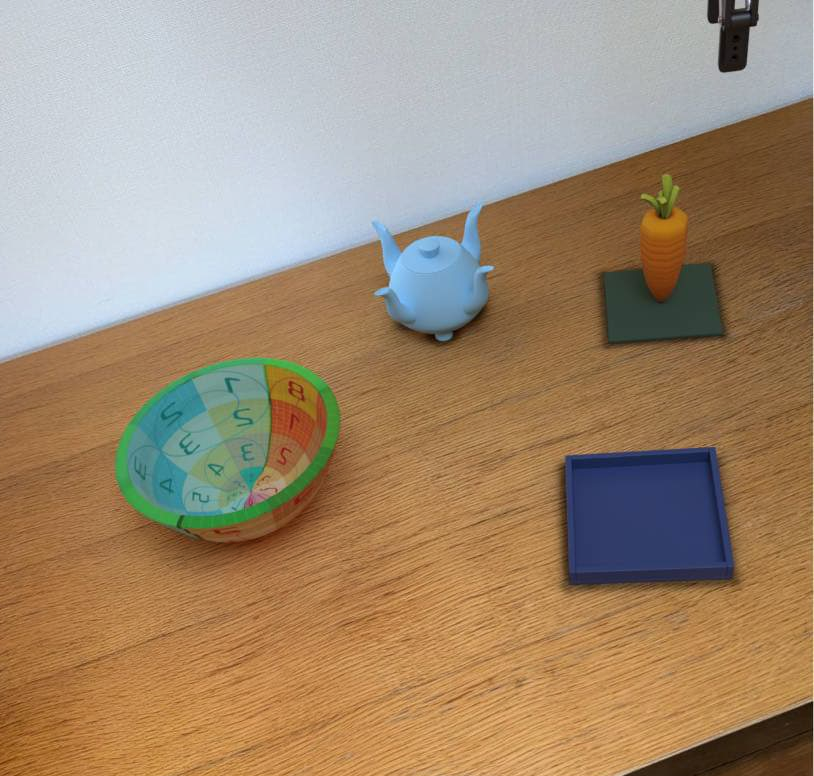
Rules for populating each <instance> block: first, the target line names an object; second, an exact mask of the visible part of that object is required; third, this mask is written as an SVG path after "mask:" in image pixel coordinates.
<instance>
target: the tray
mask: <svg viewBox="0 0 814 776" xmlns="http://www.w3.org/2000/svg"><path fill="white" fill-rule="evenodd" d="M564 459H565V461H564V462H565V486H566V487H565V490H566V514H567V515H566V519H567V520H566V521H567V550H568V576H569V577H568V579H569V585H570V586H573V585H575V586H576V585H577V586H578V585H600V584H601V585H602V584H603V585H604V584H606V585H607V584H629V583H661V582H685V581H689V582H690V581H714V580H716V581H717V580H733V578H734V571H735V563H734V555H733V550H732V544H731V537H730V530H729V525H728V524H729V523H728V518H727V517H728V516H727V512H726V506H725V505H726V504H725V499H724V493H723V492H724V491H723V486H722V481H721V474H720V473H721V472H720V466H719V461H718V455H717V449H716V446H704V447H701V446H700V447H687V448H686V447H685V448H684V447H683V448H670V449H668V448H667V449H651V450H650V449H649V450H635V451H633V450H631V451H618V452H616V451H615V452H602V453H601V452H600V453H598V452H597V453H583V454H567V455H565V456H564Z"/></svg>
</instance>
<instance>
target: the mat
mask: <svg viewBox="0 0 814 776" xmlns="http://www.w3.org/2000/svg"><path fill="white" fill-rule="evenodd" d="M603 284H604V299H605V311H606V323H607V324H606V325H607V335H608V344H609V345H616V344H627V343H628V344H629V343H640V342H641V343H642V342H653V341H654V342H655V341H669V340H678V339H679V340H680V339H693V338H707V337H718V336H719V337H720V336H723V335H724V330H723V324H722V319H721V313H720V308H719V303H718V297H717V292H716V287H715V281H714V276H713V270H712V264H711V262H705V263H704V262H703V263H694V264H682V266H681V270H680V273H679V276H678V279H677V283H676V285H675V287H674V289H673V291H672V293H671V294H670V295H669V297H668V298H667V299H666V300H665V301H663V302H659V301H657V300H656V299H655V297H654V296H653V294H652V293H651V291H650V289H649V287H648V285H647V283H646V280H645V276H644V272H643V268H638V269H637V268H636V269H628V270H625V269H624V270H617V271H616V270H615V271H614V270H613V271H604V272H603Z"/></svg>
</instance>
